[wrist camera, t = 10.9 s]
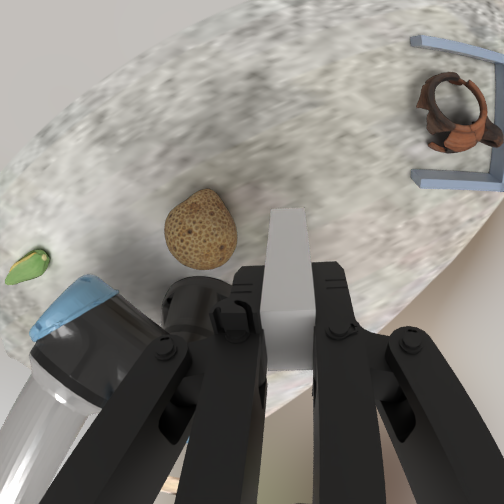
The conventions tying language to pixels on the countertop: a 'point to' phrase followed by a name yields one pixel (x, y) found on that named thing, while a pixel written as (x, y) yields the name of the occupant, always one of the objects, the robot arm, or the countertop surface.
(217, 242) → the natural sponge
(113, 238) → the countertop surface
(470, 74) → the countertop surface
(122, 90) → the countertop surface
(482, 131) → the brown curved ring piece
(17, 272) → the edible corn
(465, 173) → the blue-grey u-shaped frame
